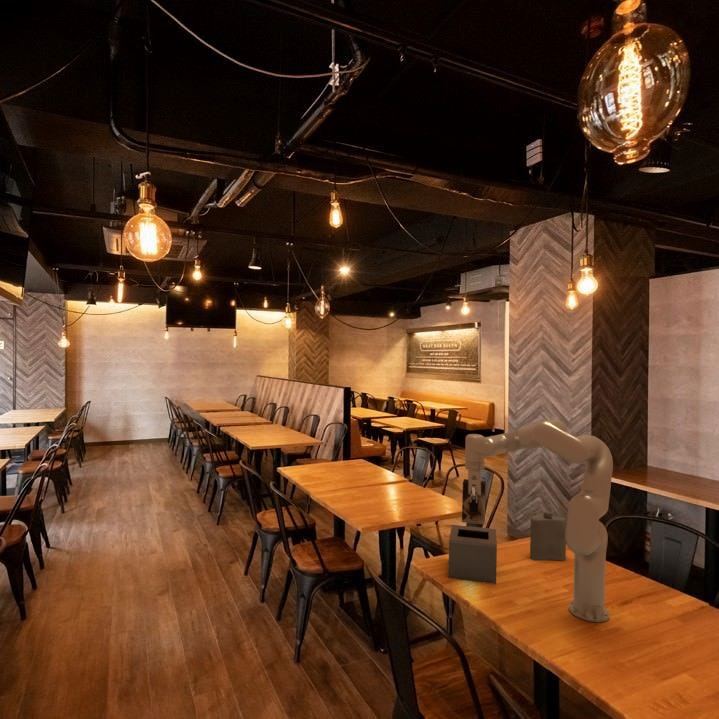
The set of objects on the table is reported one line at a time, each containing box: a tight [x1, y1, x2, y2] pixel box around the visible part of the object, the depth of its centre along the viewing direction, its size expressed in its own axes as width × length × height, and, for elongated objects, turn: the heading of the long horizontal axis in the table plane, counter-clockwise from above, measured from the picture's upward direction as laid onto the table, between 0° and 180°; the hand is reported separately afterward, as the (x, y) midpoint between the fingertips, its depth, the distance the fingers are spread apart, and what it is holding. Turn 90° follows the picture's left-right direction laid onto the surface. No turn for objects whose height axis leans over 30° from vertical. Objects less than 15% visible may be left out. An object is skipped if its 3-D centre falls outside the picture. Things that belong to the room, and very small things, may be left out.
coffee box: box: [461, 478, 487, 526], centre depth 196 cm, size 9×6×16 cm
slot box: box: [448, 524, 498, 585], centre depth 196 cm, size 18×18×15 cm
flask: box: [529, 510, 567, 562], centre depth 211 cm, size 15×6×20 cm, turn 90°
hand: (473, 509), depth 196 cm, fingers closed on coffee box, 6 cm apart
